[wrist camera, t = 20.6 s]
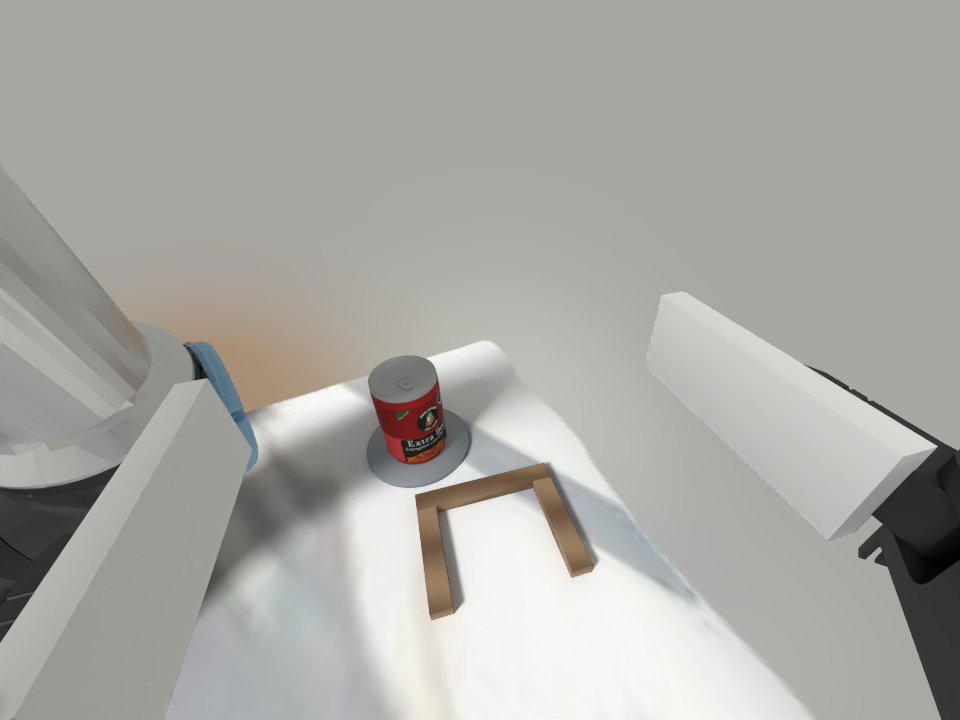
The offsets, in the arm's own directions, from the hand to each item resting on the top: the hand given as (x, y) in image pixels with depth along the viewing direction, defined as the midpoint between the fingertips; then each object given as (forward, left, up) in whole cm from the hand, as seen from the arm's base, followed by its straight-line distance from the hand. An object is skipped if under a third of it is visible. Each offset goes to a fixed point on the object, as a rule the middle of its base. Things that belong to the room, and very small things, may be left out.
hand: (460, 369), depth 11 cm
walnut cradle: (-5, +11, -30) cm, 32 cm away
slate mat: (-19, +17, -30) cm, 40 cm away
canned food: (-19, +17, -30) cm, 39 cm away
